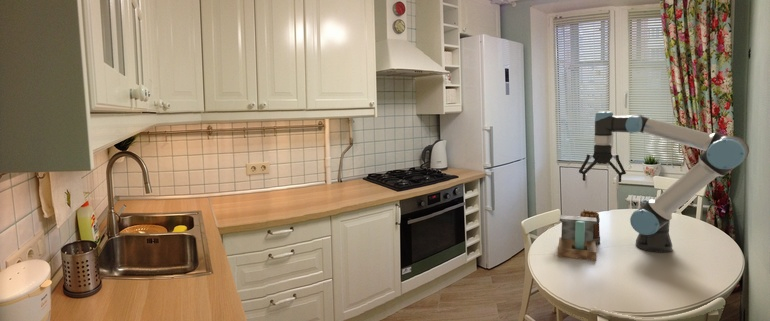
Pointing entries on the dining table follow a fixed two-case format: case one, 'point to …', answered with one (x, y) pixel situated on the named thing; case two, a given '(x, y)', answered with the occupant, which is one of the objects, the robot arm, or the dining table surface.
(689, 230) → the dining table surface
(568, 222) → the socket block
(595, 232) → the mug
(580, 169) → the robot arm
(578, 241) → the peg
